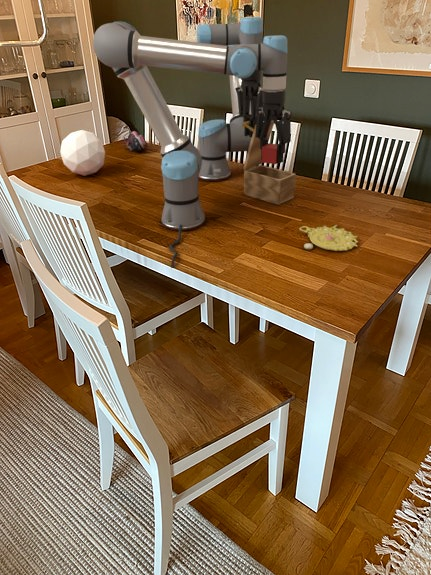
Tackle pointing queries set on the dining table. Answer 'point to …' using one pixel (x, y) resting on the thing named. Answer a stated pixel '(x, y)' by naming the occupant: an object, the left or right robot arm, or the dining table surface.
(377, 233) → the dining table surface
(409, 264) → the dining table surface
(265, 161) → the block
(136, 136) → the athletic shoe
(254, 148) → the lid
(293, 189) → the chest
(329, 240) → the decorative object
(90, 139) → the sphere
